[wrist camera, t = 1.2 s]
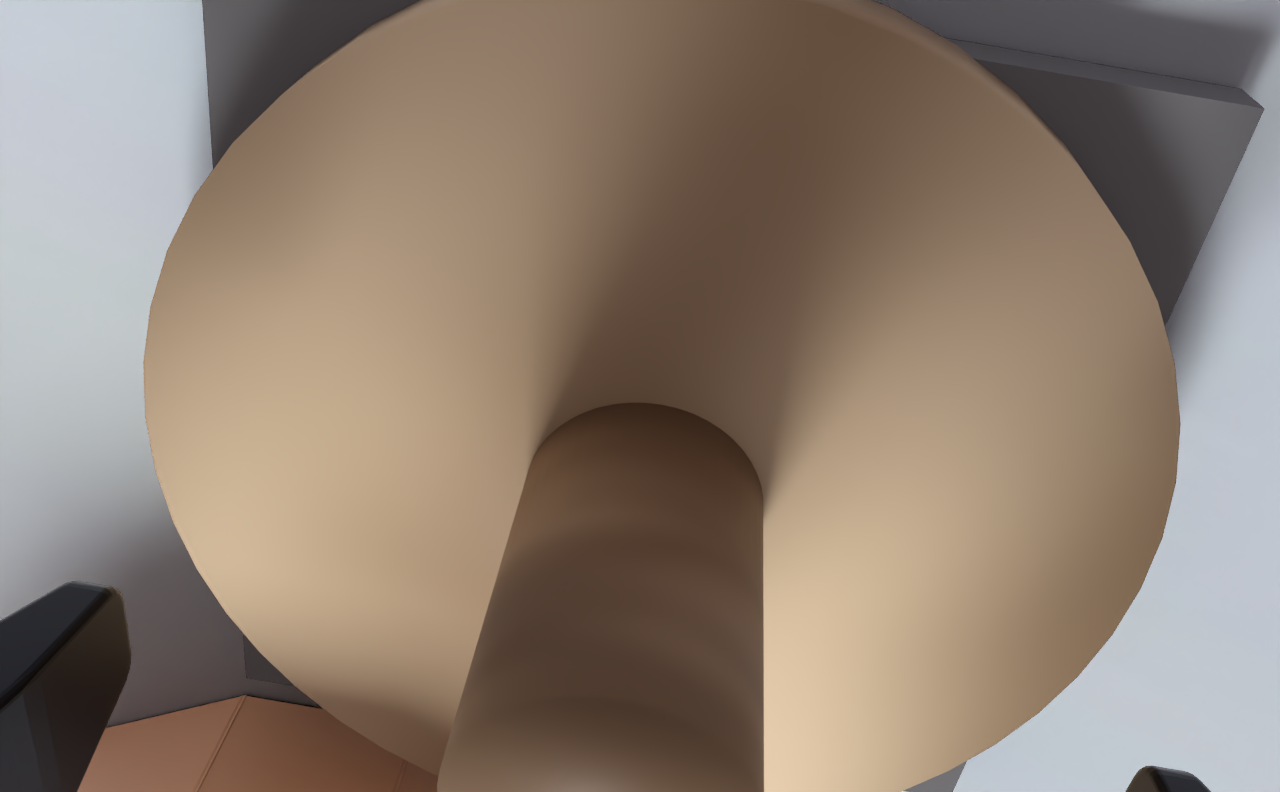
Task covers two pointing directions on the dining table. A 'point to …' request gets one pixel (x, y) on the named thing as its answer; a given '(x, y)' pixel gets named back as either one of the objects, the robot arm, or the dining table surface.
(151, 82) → the dining table surface
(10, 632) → the robot arm
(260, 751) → the bowl
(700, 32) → the lid
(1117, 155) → the mat
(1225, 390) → the dining table surface
